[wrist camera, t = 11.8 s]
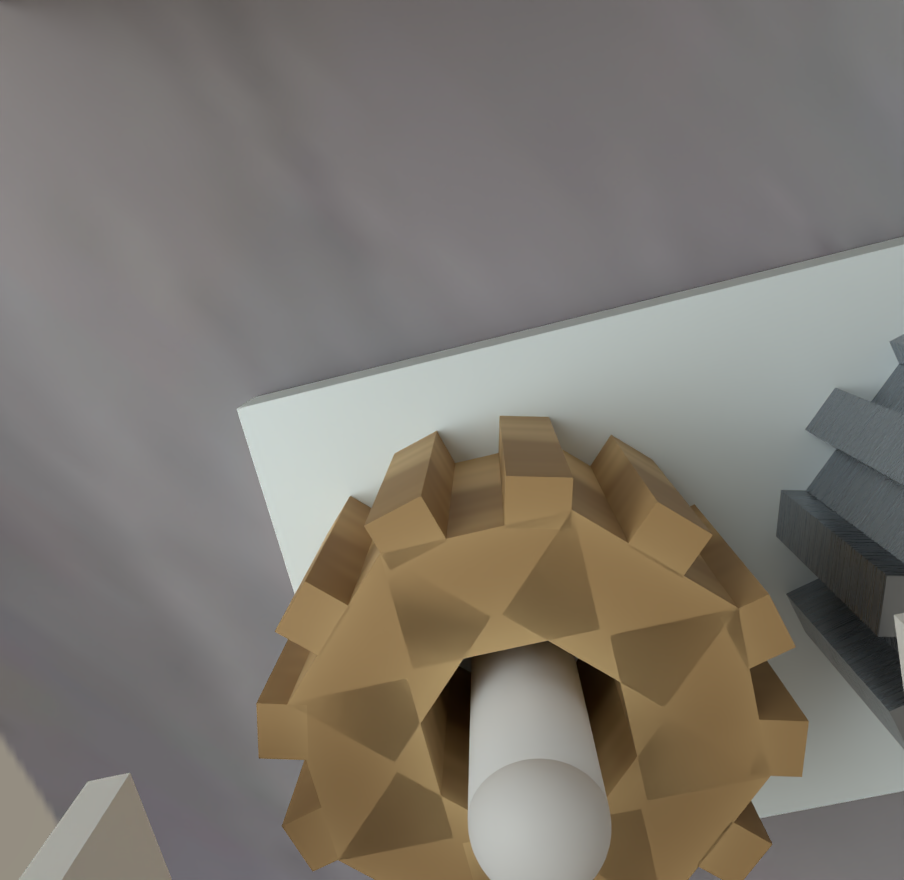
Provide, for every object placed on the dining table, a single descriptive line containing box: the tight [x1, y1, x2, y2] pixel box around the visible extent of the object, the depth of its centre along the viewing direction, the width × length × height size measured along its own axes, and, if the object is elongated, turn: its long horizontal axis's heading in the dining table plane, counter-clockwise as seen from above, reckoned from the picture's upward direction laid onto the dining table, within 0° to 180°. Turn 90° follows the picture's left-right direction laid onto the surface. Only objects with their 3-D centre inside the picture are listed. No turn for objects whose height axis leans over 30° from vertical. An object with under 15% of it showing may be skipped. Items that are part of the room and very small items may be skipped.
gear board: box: [237, 237, 904, 880], centre depth 16 cm, size 13×21×10 cm, turn 104°
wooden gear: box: [257, 416, 809, 880], centre depth 17 cm, size 10×10×5 cm
